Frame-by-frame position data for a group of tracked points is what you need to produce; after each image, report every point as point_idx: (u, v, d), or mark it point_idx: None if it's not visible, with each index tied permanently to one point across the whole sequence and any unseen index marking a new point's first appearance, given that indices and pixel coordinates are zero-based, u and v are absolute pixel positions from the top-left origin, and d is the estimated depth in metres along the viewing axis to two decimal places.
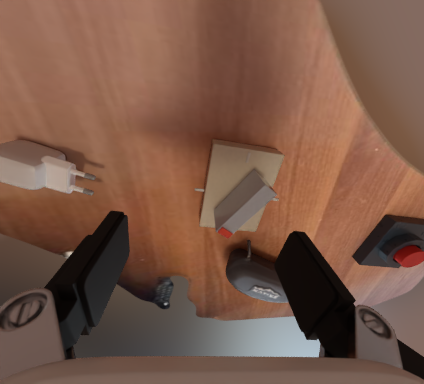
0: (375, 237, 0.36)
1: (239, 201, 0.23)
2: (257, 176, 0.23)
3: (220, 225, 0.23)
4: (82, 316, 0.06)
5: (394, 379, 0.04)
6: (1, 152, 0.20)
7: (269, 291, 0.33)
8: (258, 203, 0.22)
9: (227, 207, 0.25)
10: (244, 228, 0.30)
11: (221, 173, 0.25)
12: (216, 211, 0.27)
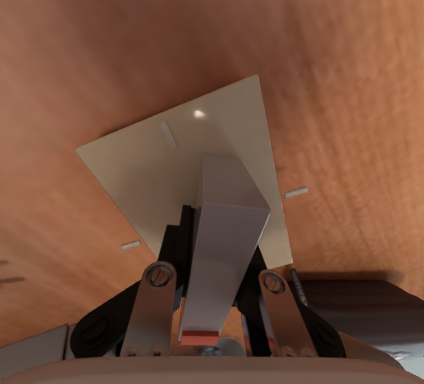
0: None
1: None
2: (201, 172, 0.08)
3: (180, 325, 0.09)
4: None
5: (394, 379, 0.04)
6: None
7: None
8: (226, 257, 0.06)
9: None
10: None
11: (142, 197, 0.11)
12: None
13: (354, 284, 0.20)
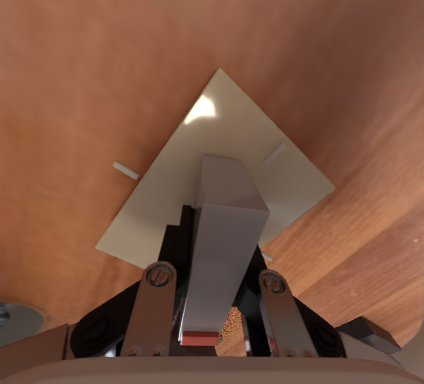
0: None
1: None
2: (201, 174, 0.08)
3: (180, 326, 0.09)
4: None
5: (394, 379, 0.04)
6: None
7: None
8: (226, 259, 0.06)
9: None
10: None
11: (198, 157, 0.10)
12: None
13: None
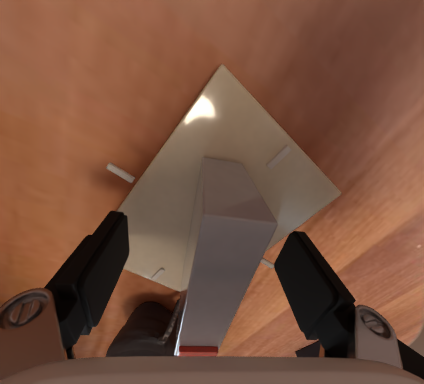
0: None
1: (187, 269, 0.08)
2: (201, 178, 0.07)
3: (176, 339, 0.09)
4: (82, 317, 0.06)
5: (394, 379, 0.04)
6: None
7: None
8: (227, 273, 0.06)
9: (184, 276, 0.10)
10: None
11: (198, 159, 0.09)
12: (182, 278, 0.12)
13: None
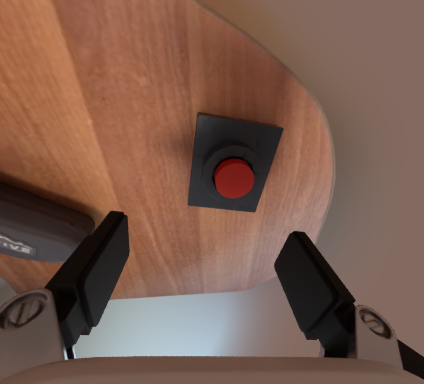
0: None
1: None
2: None
3: None
4: (83, 316, 0.06)
5: (394, 379, 0.04)
6: None
7: None
8: None
9: None
10: None
11: None
12: None
13: (51, 203, 0.25)
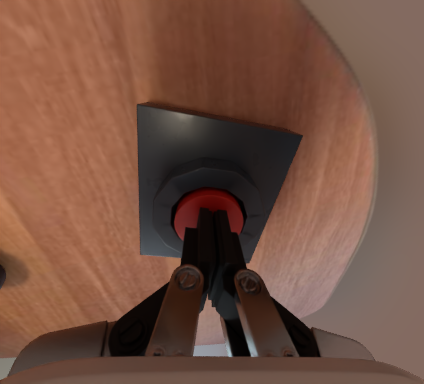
0: None
1: None
2: None
3: None
4: None
5: (394, 379, 0.04)
6: None
7: None
8: None
9: None
10: None
11: None
12: None
13: None
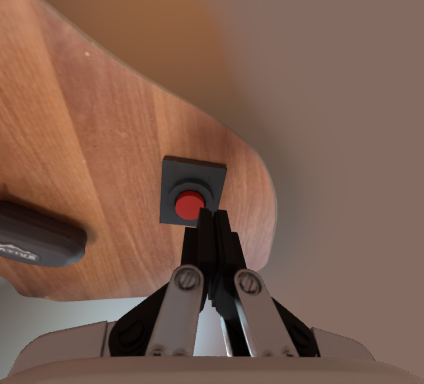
0: None
1: None
2: None
3: None
4: None
5: (394, 379, 0.04)
6: None
7: (13, 248, 0.27)
8: None
9: None
10: None
11: None
12: None
13: (52, 220, 0.32)
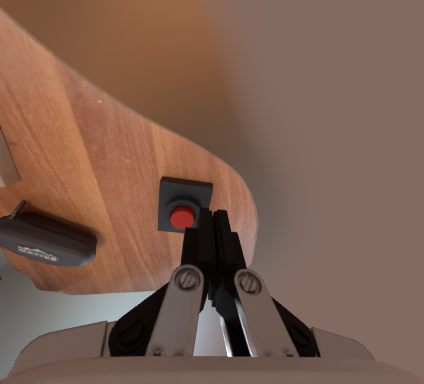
0: None
1: None
2: None
3: None
4: None
5: (394, 379, 0.04)
6: None
7: (39, 251, 0.33)
8: None
9: None
10: None
11: None
12: None
13: (68, 227, 0.38)
